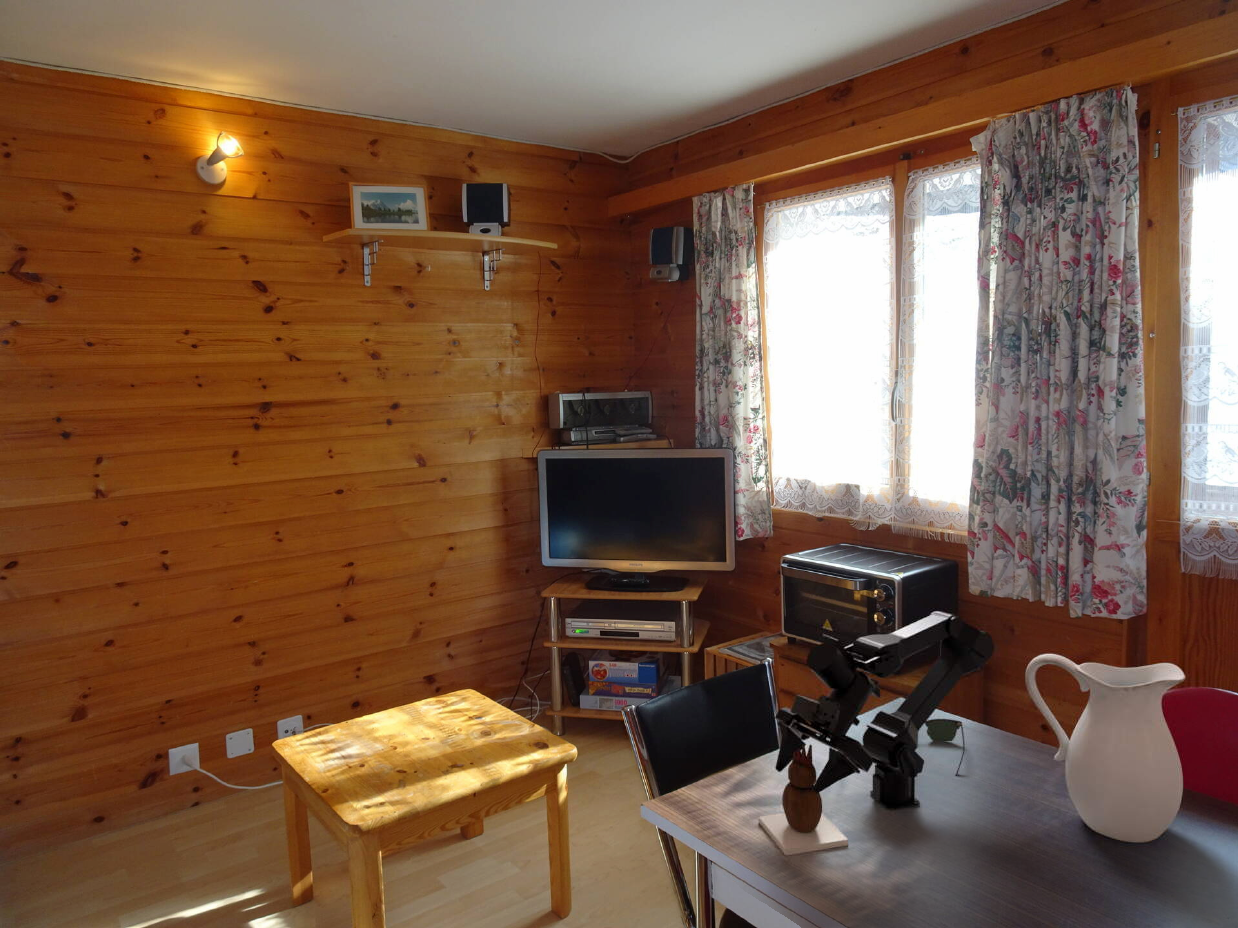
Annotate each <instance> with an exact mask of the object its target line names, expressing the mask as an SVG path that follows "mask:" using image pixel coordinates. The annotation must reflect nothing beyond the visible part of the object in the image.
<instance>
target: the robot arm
mask: <svg viewBox="0 0 1238 928" xmlns="http://www.w3.org/2000/svg"><path fill="white" fill-rule="evenodd" d="M938 643H940V649H939V657H938V659H937V661H935V663H934V664H933V665H932V666H931V667H930V668H929V670H928V671H927V672H926V674H925V675H924V676H923V677H922V679H920V681H919V682H918V683H917V685H915V687H914V688H913V690H912V691H911V692H910V693H909V694H908V696H907V697H906V698H905V699H904V701H903V702H902V703H901V704H900V706H899V707H898V708H897V709H896V710H895V711H893V712H892V713H889V712H886V711H883V710H880V711H878V712H877V713H876V715H875V716H874V718H873V719H872V721H870V723H868V724H866V727H867V728H866V730H865V731H864V733H863V735H862V743H861V742H860V740H857V739H855V738H854V737H850V736H848V735H847V733H848V731H849V730H850V728H851V727H852V725H853V726H856V727H858V725H859V724H860V722H861V720H859V718H857V717H858V715H859V714H860V712H861V711H862V710H863V707H865V704H866V703H867V701H868V699H869V698H870V696H874V697H876V698H880V697H881V694H882V693H881V689H880V687H879V680H877V679H874V678H871V677H869V676H868V675H866V673H868V674H870V675H873V676H876V677H878V678H881V679H884V678H885V679H886V678H888V677H889V676H891V675H892V674H895V672H896V671H898V670H900V669H901V668H902V666H903V663H904V660H905V659H907V658H908V657H911V656H912V655H914V654H917V653H919V652H920V651H922V650H925V649H927V648H929V647H931V646H933V645H935V644H938ZM995 647H996V646H995V643H994V640H993V638H992V636H991V634H990V633H989V632H986V631H982V630H980V629H977V628H976V627H974V626H973V625H970V624H969V623H967V622H965V621H964V620H963V619H962V618H960V617H958V615H955V614H952V613H948V612H944V611H940V610H937V611H933V612H931V613H930V614H929V616H927V617H924V618H922V619H919V620H917V621H916V622H912V623H909V625H906V626H904V627H902V628H900V629H898V630H895V631H893V632H891V633H886V634H871V635H866V636H861V637H860V636H859V637H858V638H857V639H856V640H855V641H854V642H853V643H851V644H849V645H847V646H844V645H843V643H842V642H841V641H840V640H839V639H836V638H835V637H829V638H828V639H827V640H826V642H822V643H819V644H817V645H816V646H815V647H814V648H811V649H810V651H809V652H808V654H807V657H806V664H807V667H808V669H810V670H811V671H812V673H814V675H815V676H817V678H818V679H819V680H820V681H821V682H822V683H823V684H824V685H825V686H826V687H828V689H830V690H831V691H829V694H828V695H827V696H826V695H824V694H822V695H820V696H819V697H818V699H817V700H815V699H812V698H811V697H810V698H809V697H807V696H803V695H800V694H797V693H796V694H795V696H794V699H793V703H792V705H791V707H790V708H788V707H786V706H785V707H781V708H780V709H779V710H778V712H777V713H776V715H775V716H774V719H775V721H777V727H778V728H779V730H780V732H781V741H780V746H779V751H778V755H777V759H776V764H775V768H774V769H775V770H776V771H777V772H779V773H781V772H782V771H783V770H784V769H785V768H787V767H788V766H789V765H790V764H791V763H792V760H793V754H794V752H795V751H796V752H798V749H800V750H801V751H802V745H803V744H804V745H805V746H806V745H807V744H806V743H805V742H804V741H806V740H808V739H810V738H811V739H813V740H815V741H817V742H818V743H819V742H820V743H821V744H824V745H825V746H828V747H829V749H828V760H827V762H826V764H825V765H824V767H823V768H822V770H821V772H820V774H819V776H818V777H817V778H816V782H815V784H814V787H813V791H814V792H815V793H821V792H823V791H824V790H826V789H827V788H829V787H831V786H833V785H834V784H835V783H837V782H839V781H842V780H843V779H845V778H847V777H849V776H851V775H853V774H858V775H859V774H860V773H861V771H863V772H865V773H868V772H869V770H870V769H871V767H872V766H873V764H874V773H872V790H870V791H869V793H870V795H871V796H872V797H873V798H874V799H875V800H876V801H877V802H879V803H880V804H881V806H883V807H885V808H886V809H887V810H895V809H901V808H907V807H914V806H915V807H916V806H920V804H921V802H920V800H918V799H917V798H916V796H915V795H916V794H915V793H916V781H915V780H916V778H917V777H918V775H919V774H921V773H922V772H923V769H924V765H925V759H923V757H921V755H919V754H918V752H916V750H917V749H918V745H919V744H918V743H919V731H920V730H921V729H922V727H923V726H924V725H925V722H926V721H928V720H929V718H930V717H931V715H932V714H933V713H934V712H935V710H936V709H938V707H939V706H940V705H941V703H942V702H943V701H944V700H945V698H946V697H947V696H948V694H949V693H950V692H951V690H953V688H954V687H955V686H956V684H957V683H958V682H959V680H961V678H962V677H963V676H964V675H966V674H969V673H971V672H974V671H977V670H980V669H981V668H982V667H983V666H984V665H985V664H986V663H987V662H988V661H989V660H991V658H992V656H993V654H994V652H995ZM864 672H865V673H864Z"/></svg>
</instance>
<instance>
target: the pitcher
mask: <svg viewBox="0 0 1238 928" xmlns="http://www.w3.org/2000/svg"><path fill="white" fill-rule="evenodd" d="M1044 665H1055V666H1058V667H1060V668H1062V669H1064V670H1066V671H1067V672H1068V673H1070V674H1071V675H1072V676H1073V677H1074V678H1075V679H1076V681H1078V685H1079V687H1080V691H1081V692H1083V693H1084V692H1088V691H1089V690H1090V691H1089V698H1088V701H1087V704H1086V706H1085V709H1084V710H1083V712H1082V714H1081V716H1080V718H1079V719H1078V722H1077V723H1076V725H1075V728H1074V729H1073V732H1072V733H1071V736H1070V739H1069V737H1068V735H1067V734H1066V732H1065V730H1064V729H1063V728H1062V726H1061V725H1060V723H1059V721H1058V720H1057V719H1056V717H1055V715H1054V714H1053V713H1052V712H1051V710H1050V708H1049V707H1048V705H1047V704H1046V703H1045V701H1044V699H1043V697H1042V696H1041V692H1040V691H1039V689H1038V686H1037V681H1036V674H1037V670H1038V669H1039V668H1040V667H1042V666H1044ZM1024 678H1025V681H1024V682H1025V685H1026V689H1027V692H1028V694H1029V695H1030V698H1031V699H1032V701H1033V702H1034V705H1035V706H1036V707H1037V709H1038V710H1039V711H1040V712H1041V714H1042V716H1043V717H1044V718H1045V719H1046V720H1047V722H1048V724H1049V726H1050V727H1051V728H1052V730H1053V731H1054V733H1055V735H1056V736H1057V740H1058V743H1059V749H1058V751H1057V752H1056V754H1055V755H1054V757H1053V759H1054V761H1060V762H1061V761H1065V765H1064V766H1065V783H1066V786H1067V787H1066V788H1067V791H1068V794H1069V797H1070V798H1071V802H1072V803H1073V806H1074V807H1075V810H1076V811H1077V813H1078V815H1079V817H1080V818H1081V820H1082V821H1083V822H1084V824H1086V825H1087V827H1088V828H1090V829H1091V830H1093V831H1094V832H1096V833H1098V834H1100V835H1102V836H1105V837H1108V838H1110V839H1113V840H1118V841H1121V842H1127V843H1128V842H1129V843H1148V842H1151V841H1154V840H1156V839H1158V838H1159V837H1160V836H1162V834H1163V833H1164V832H1166V830H1167V829H1168V828H1169V827H1170V825H1172V823H1173V821H1174V820H1175V818H1176V816H1177V813H1178V812H1179V809H1180V807H1181V802H1182V797H1183V793H1184V792H1183V791H1184V777H1183V769H1182V763H1181V760H1180V756H1179V753H1178V750H1177V747H1176V744H1175V743H1176V742H1175V741H1174V738H1173V736H1172V733H1171V731H1170V729H1169V726H1168V724H1167V721H1166V719H1165V717H1164V713H1163V707H1162V699H1163V696H1164V694H1165V693H1167V691H1168V690H1170V689H1171V688H1173V687H1174V686H1176V685H1178V684H1180V683H1182V682H1184V681H1185V680H1186V675H1185V673H1184V672H1183V670H1182V669H1181V668H1180V667H1179V666H1177V665H1175V664H1174V663H1169V662H1161V663H1155V664H1150V665H1143V666H1138V667H1137V666H1136V667H1118V666H1113V665H1108V664H1104V663H1098V662H1084V663H1081V664H1076V663H1075V662H1074V661H1072V660H1070V659H1069V658H1067V657H1065V656H1063V655H1061V654H1060V655H1059V654H1055V653H1043V654H1039V655H1037V656H1036V657H1034V658H1032V660H1030V662H1029V663H1028V664H1027V667H1026V670H1025V677H1024Z"/></svg>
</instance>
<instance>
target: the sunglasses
mask: <svg viewBox="0 0 1238 928" xmlns="http://www.w3.org/2000/svg"><path fill="white" fill-rule="evenodd" d="M924 726H925V727H927V729H926V735H927V736H928V737H929V739H930V740H931V741H932V742H938V741H951V742H953V741H954V739H955V738H956V735H957V732H958V730H959V729H961V735H962V736H961V737H962V738H961V739H962V747H963V748H962V756H961V759H960V761H959V765H958V767H957V770H956V773H955V776H957V775H958V773H959V771H960V767H961V764H962V762H963V758H964V756H965V736H964V735H965V734H964V727H963V722H962V721H961V720H956V719H948V718H934V719H933V718H931V719H927V721H926V722H925V723H924Z"/></svg>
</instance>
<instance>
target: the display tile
mask: <svg viewBox="0 0 1238 928" xmlns="http://www.w3.org/2000/svg"><path fill="white" fill-rule="evenodd" d="M758 824H760V826H761V827H762V828H763V829H764V831H765V832H766V833H767V834H768V835H769V837H770V838H771V839H772V840H773V842H774V843H775V844H776V845H777V847H778V846H779V847H778V848H779V849H780V850H781V852H782V853H783V854H784V855H785V856H791V855H797V854H803V853H810V852H815V851H823V850H828V849H833V848H839V847H845V846H848V845H849V839H848V838H847V836H845V834H843V833H842V832H841V830H839V829H838V827H837V826H836V825H834V823H832V821H831V820H829V818H828V817H827V816H826V815H825V814H824V813H823V812H822V814H821V818H820V821H819V824H818V825H817V827H816V829H815V830H813V831H811V832H799V831H796V830H794V829H793V828H792V827H791V826H790V825H789V824H788V821H787V819H786V815H785V812H783V813H775V814H770V815H769V814H768V815H762V816H758Z"/></svg>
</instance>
